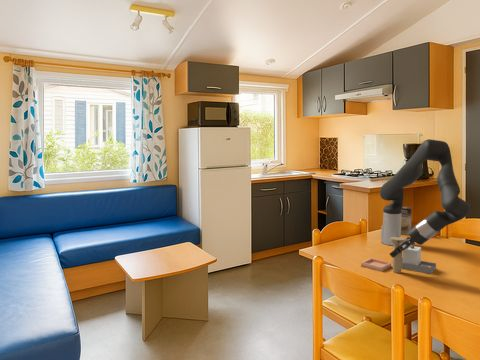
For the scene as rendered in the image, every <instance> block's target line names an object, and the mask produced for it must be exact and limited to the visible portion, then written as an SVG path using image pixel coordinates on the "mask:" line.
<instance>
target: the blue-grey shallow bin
mask: <svg viewBox="0 0 480 360" xmlns="http://www.w3.org/2000/svg"><path fill="white" fill-rule="evenodd" d="M436 267H437V263H436V262H430V261H424V260H421V263H420V264H419V265H412V264H407V263H403V256H402V268H401V269H403V270H407V271H408V270H410V271H415V272H419V273H426V274H431V275H432V274H433V273H434V271H436V269H437V268H436Z"/></svg>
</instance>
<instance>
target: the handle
mask: <svg viewBox="0 0 480 360" xmlns="http://www.w3.org/2000/svg"><path fill="white" fill-rule="evenodd" d="M406 238H407V237H406ZM406 238H405V237H403V236H401V237H390V241H391V242H392V243H394V245H393V250H392V251H394V250H395V249H396V248H397V247H399V244H400V243H402V242H403V241H404V240H405V239H406ZM399 249H400V248H399ZM402 257H403V251H402V252H401V253H399V254H397V255H396V256H395V257H393V258H392V262H391V264H392V271H393V273H395V274H400V273H402V269H403V268H402Z"/></svg>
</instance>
